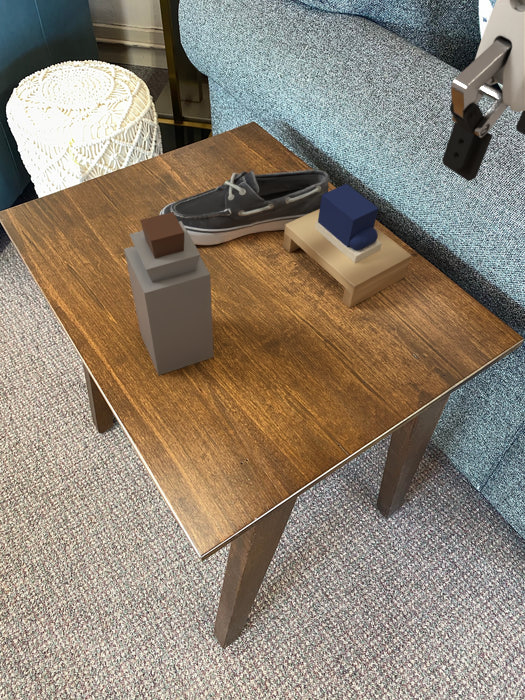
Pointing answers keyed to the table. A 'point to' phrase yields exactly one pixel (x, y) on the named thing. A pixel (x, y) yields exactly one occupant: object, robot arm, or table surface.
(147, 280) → the perfume bottle
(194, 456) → the table surface
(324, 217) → the high-top sneaker
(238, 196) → the boat shoe
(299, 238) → the shoe shelf
